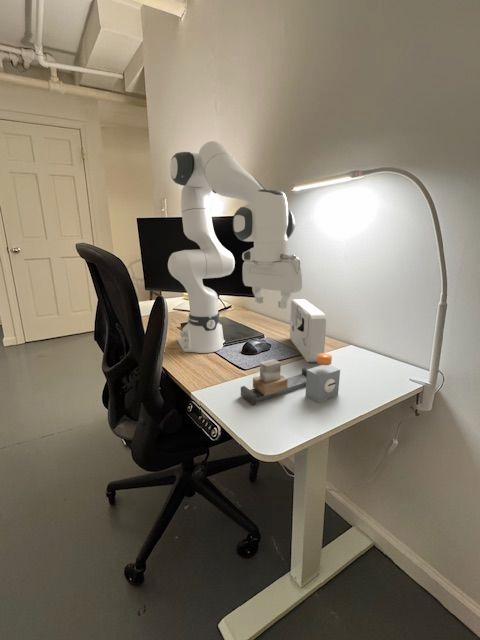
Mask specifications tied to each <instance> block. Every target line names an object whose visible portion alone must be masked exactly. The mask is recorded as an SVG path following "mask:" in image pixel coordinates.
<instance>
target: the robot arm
mask: <svg viewBox="0 0 480 640" xmlns="http://www.w3.org/2000/svg"><path fill="white" fill-rule="evenodd" d="M170 160H171V161H170V164H169V166H170V167H169V170H170V177H171V179H172V181H173V183H175V184H177V185H180V186H183V187H181V194H180V195H181V196H180V209H181V212H180V213H181V217H182V218H181V219H182V228H183V233H184V235H185V236H186V238H187V239H188V240H190V241H193V242H194V243H196V244H197V246H199V249H183V250H179V251H174V252H172V253H171V254H170V255H169V257H168V262H167V269H168V273H169V274H170V275H171V277H173V278H174V279H175V280H177V281H179V283H180V284H181V285H182V286H183V287H184V289H185V291H186V293H187V298H188V302H189V313H188V319H187V321H188V323H187V322H186V323H187V324H186V325H184V326H183V327H182V331H180V337H178V338H177V343H178V344H179V346H180V347H181V350H182V351H183V352H184V353H197V354H198V353H199V354H207V353H214V352H217V351H220V350H222V349H223V347H224V345H223V343H224V342H225V341H226V340H225V339H224V333H223V326H222V324H221V323H220V317H221V316H220V313H219V301H218V300H219V297H218V293H217V292H216V291H215V289H212V288H211V287H208V286H205V285H204V282H203V279H215V278H216V279H218V278H223V277H226V276H230V275H231V274H233V271H234V270H235V268H236V267H235V264H236V261H235V257H234V255H233V252H231V251H230V250H228V249H227V248H226V247H225V246H224V245H222V243H221V242H220V240H219V239H218V237H217V235H216V232H215V230H214V225H213V224H214V223H213V218H212V211H211V210H212V209H211V203H210V194H211V192H212V193H214V194H217V195H220V196H221V197H226V198H233V199H237V200H241V201H245V202H246V203H247V204H245V205H244V206H240V207H239V208H238V209H236V211H235V213H234V214H233V216H232V231H233V233H234V235H235V236H236V237H237V239H238V240H240V241H243V242H253V247H251V248H250V249H248V250H246V251H243V252H242V255H241V259H242V260H243V261H244V262H243V263H242V283H243V285H244V286H245V287H251V290H252V294H253V297H254V300H255V302H254V303H255V304H263V303H264V296H262V293H261V291H262V289H264V290H269V291H271V290H272V291H277V292H280V296H281V299H280V301H278V302H277V308H279V309H286V308H287V307H288V301H289V299H290V297H291V294H294V293H300V292H301V291H302V289H303V278H302V277H303V276H302V275H303V274H302V268H301V260H300V259H299V257H297V255H296V254H288V246H289V245H288V244H289V243H288V240H289V238H290V237H291V236H292V235H293V233H294V230H295V228H296V220H295V218H294V217H295V216H294V215H293V213H292V211H291V210H290V209H289V207H288V200H287V196H286V194H285V193H284V191H282V190H277V189H275V190H274V189H267V188H266V187H265V186H264V185H263V183H261V182H260V181H259V180H258V179H256V178H255V177H254V176H252V175H251V174H250V173H249V172H248V171H247V170H245V169H244V168H243V167H242V166H241V165H240V164H239V162H237V160H236V159H235V158H234V156H233V154H232V153H231V152H230V151H229V150H228V149H227V148H226V147H225V146H224V145H223V144H221V143H220V142H217V141H216V140H214V141H212V140H211V141H208V142H205V143H204V144H203V145H202V146H201V147H200V149H199V151H198V153H197V152H190V151H180V152H176V153H175V154H174V155H173V156H172V157H171V159H170Z"/></svg>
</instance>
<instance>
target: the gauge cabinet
mask: <svg viewBox="0 0 480 640" xmlns="http://www.w3.org/2000/svg"><path fill="white" fill-rule="evenodd" d="M307 369H308V370H307V377H306V387H305V396H306V397H308V398H309V399H311V400H312V401H315V402H316V403H321V402H324V401H326V400H328V399H332V398H334V397H336V396H339V390H340V389H339V388H340V377H341V375H340V374H341V369H340V368H338V367H336V366H333V365H332V364H330V365H317V366H314V367H312V368H307Z"/></svg>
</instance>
